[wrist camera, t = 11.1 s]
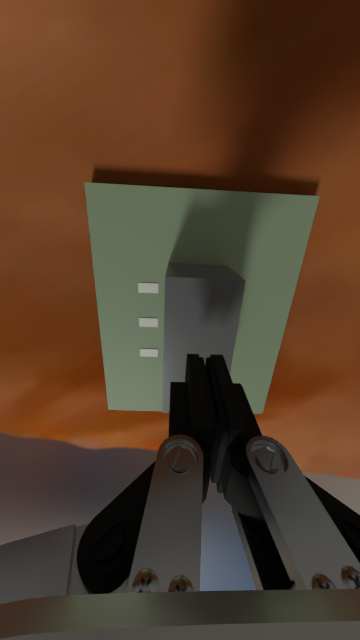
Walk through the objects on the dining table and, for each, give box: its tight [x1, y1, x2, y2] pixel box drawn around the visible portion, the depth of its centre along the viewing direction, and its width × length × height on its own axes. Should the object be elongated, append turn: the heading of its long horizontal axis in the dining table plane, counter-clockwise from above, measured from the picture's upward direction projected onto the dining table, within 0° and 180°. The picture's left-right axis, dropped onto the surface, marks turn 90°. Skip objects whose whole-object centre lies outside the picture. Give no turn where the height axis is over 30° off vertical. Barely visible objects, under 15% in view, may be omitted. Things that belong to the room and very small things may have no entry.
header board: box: [84, 182, 320, 414], centre depth 17 cm, size 20×16×5 cm
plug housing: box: [162, 263, 246, 413], centre depth 16 cm, size 10×4×5 cm, turn 177°
